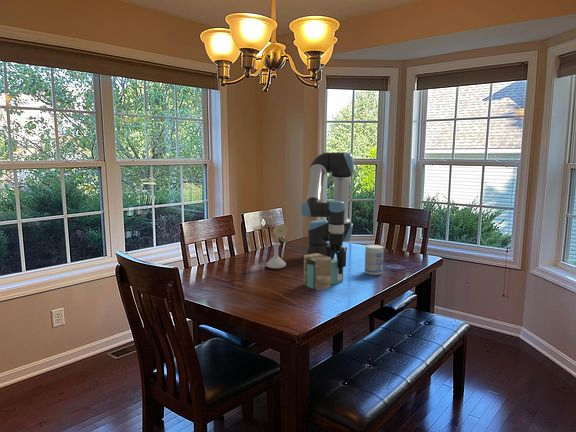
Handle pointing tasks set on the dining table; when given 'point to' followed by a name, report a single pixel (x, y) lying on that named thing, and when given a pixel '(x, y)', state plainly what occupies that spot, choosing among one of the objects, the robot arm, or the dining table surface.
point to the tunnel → (319, 270)
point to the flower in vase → (276, 260)
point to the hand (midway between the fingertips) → (335, 278)
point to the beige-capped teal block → (312, 272)
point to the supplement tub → (374, 259)
